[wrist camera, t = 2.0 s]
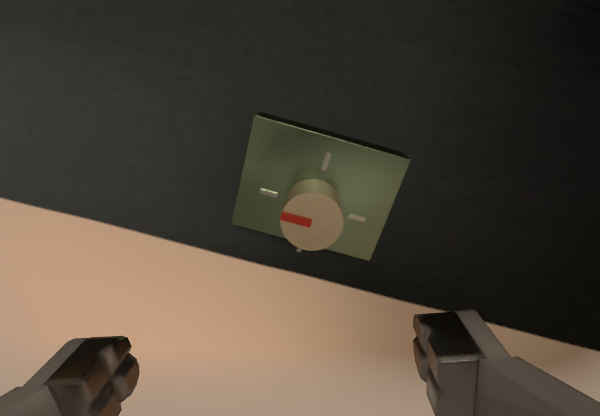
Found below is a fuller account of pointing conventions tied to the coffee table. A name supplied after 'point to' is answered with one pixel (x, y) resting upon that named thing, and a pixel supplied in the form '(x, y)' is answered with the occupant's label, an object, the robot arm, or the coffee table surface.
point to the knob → (312, 215)
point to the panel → (318, 165)
